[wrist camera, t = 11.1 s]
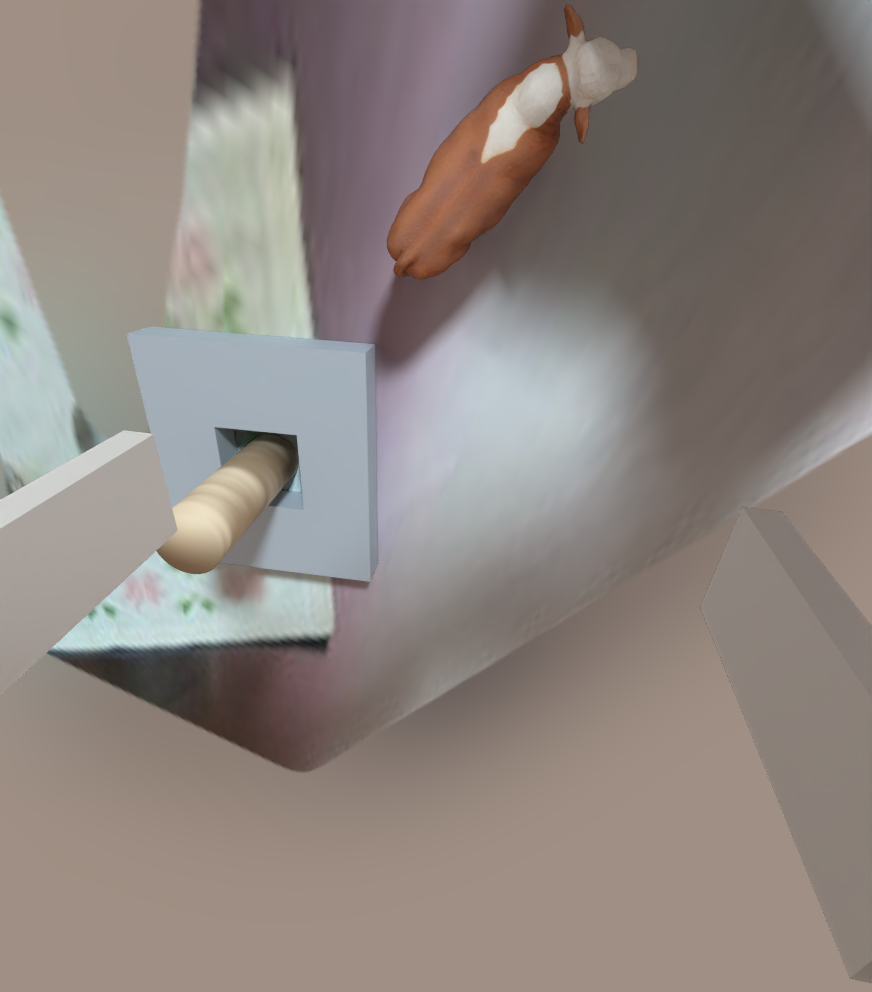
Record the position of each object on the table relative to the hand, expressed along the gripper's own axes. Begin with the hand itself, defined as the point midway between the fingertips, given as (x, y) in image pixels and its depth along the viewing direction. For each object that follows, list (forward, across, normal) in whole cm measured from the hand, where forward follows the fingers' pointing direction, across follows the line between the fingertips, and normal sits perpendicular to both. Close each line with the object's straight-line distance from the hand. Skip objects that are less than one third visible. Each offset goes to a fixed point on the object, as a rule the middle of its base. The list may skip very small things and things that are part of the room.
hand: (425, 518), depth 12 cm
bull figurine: (+24, -1, +8) cm, 26 cm away
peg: (+23, -16, -12) cm, 30 cm away
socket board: (+23, -16, -11) cm, 30 cm away
